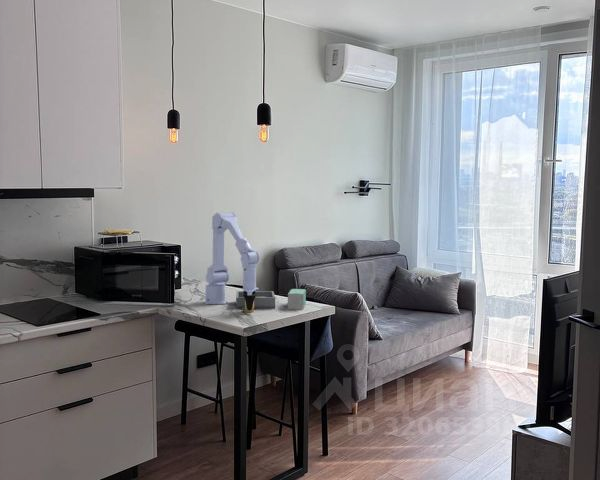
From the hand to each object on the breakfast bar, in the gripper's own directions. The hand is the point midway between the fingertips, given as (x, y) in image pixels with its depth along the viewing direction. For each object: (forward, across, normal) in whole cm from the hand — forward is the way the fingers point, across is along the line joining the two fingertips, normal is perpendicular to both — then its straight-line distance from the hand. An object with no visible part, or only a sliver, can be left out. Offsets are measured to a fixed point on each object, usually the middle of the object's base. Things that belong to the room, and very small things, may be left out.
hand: (249, 308), depth 272 cm
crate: (+2, +15, -3) cm, 15 cm away
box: (+2, +12, -22) cm, 25 cm away
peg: (+2, 0, 0) cm, 2 cm away
